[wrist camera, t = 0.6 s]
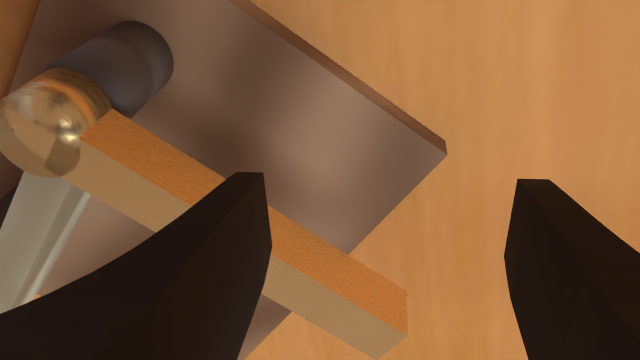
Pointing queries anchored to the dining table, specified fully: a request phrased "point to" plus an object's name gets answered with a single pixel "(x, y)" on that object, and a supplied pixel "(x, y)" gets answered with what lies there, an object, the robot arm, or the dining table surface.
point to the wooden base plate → (208, 133)
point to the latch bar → (188, 202)
